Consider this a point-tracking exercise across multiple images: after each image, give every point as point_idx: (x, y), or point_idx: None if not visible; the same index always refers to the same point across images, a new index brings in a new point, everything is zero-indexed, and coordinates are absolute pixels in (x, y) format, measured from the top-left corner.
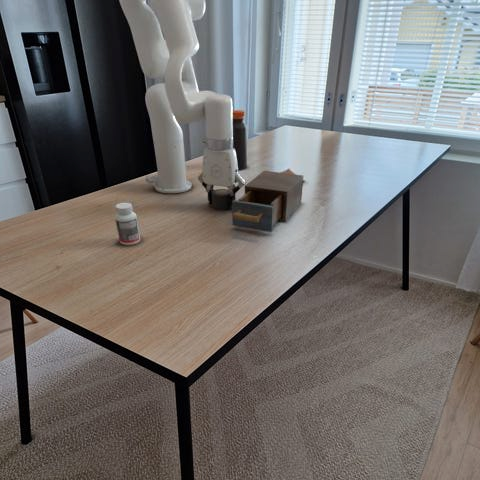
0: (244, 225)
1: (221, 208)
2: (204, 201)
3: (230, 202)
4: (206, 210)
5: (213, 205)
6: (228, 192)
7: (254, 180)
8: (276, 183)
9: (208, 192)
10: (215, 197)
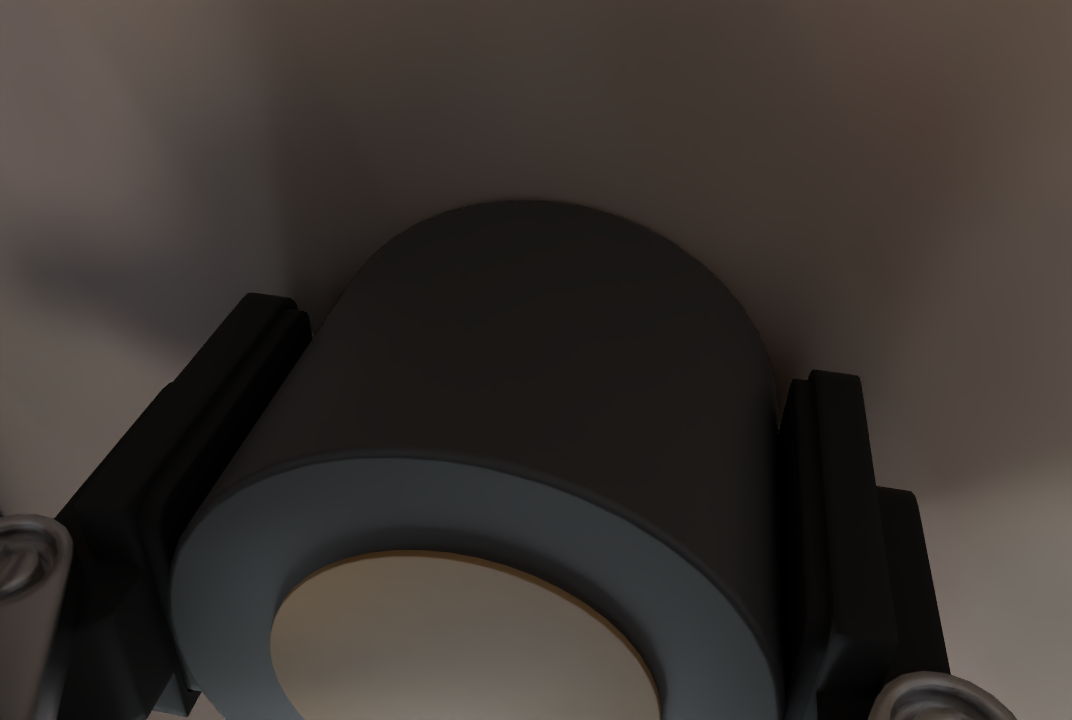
0: None
1: (443, 225)
2: (1052, 578)
3: (186, 378)
4: (854, 69)
5: (686, 293)
6: (261, 686)
7: None
8: None
9: (895, 646)
10: (549, 409)
